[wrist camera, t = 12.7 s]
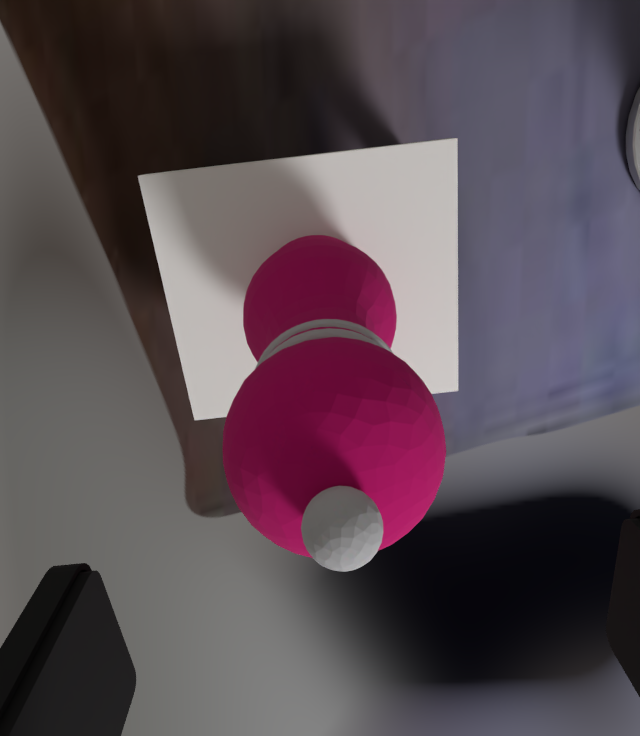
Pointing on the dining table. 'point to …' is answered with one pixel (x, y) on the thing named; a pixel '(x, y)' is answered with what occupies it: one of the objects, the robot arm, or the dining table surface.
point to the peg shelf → (298, 219)
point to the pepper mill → (329, 410)
